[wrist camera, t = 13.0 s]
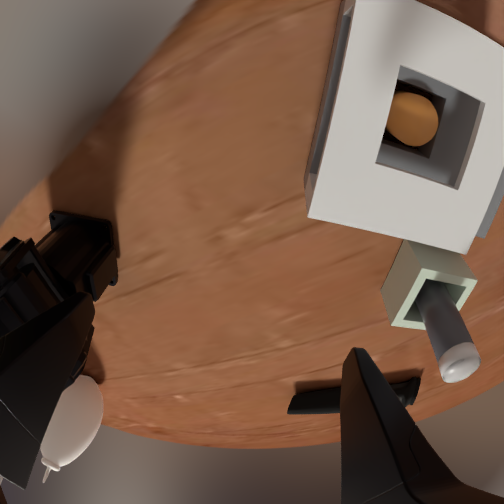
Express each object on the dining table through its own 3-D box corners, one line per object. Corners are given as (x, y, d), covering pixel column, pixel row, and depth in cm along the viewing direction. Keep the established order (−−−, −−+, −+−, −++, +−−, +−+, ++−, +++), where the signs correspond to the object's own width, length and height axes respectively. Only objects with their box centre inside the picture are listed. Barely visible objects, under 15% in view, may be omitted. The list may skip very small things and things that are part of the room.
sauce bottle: (86, 392, 41) (46, 486, 26) (57, 360, 37) (5, 459, 22) (123, 397, 40) (83, 503, 25) (93, 363, 36) (39, 478, 21)
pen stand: (380, 290, 24) (390, 325, 21) (404, 236, 21) (422, 268, 18) (430, 299, 24) (444, 332, 21) (457, 250, 21) (477, 280, 18)
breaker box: (303, 179, 20) (307, 217, 16) (340, 3, 14) (359, -20, 9) (472, 225, 20) (506, 266, 16) (518, 84, 14) (567, 98, 9)
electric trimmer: (287, 382, 33) (286, 406, 30) (421, 373, 30) (426, 395, 28) (289, 399, 35) (287, 421, 32) (413, 390, 32) (417, 412, 30)
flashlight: (399, 280, 24) (434, 382, 15) (412, 253, 22) (458, 354, 14) (425, 285, 24) (464, 382, 15) (438, 260, 22) (488, 355, 14)
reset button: (372, 128, 18) (384, 137, 15) (383, 84, 16) (397, 86, 14) (414, 141, 18) (429, 152, 15) (426, 99, 16) (443, 105, 14)
